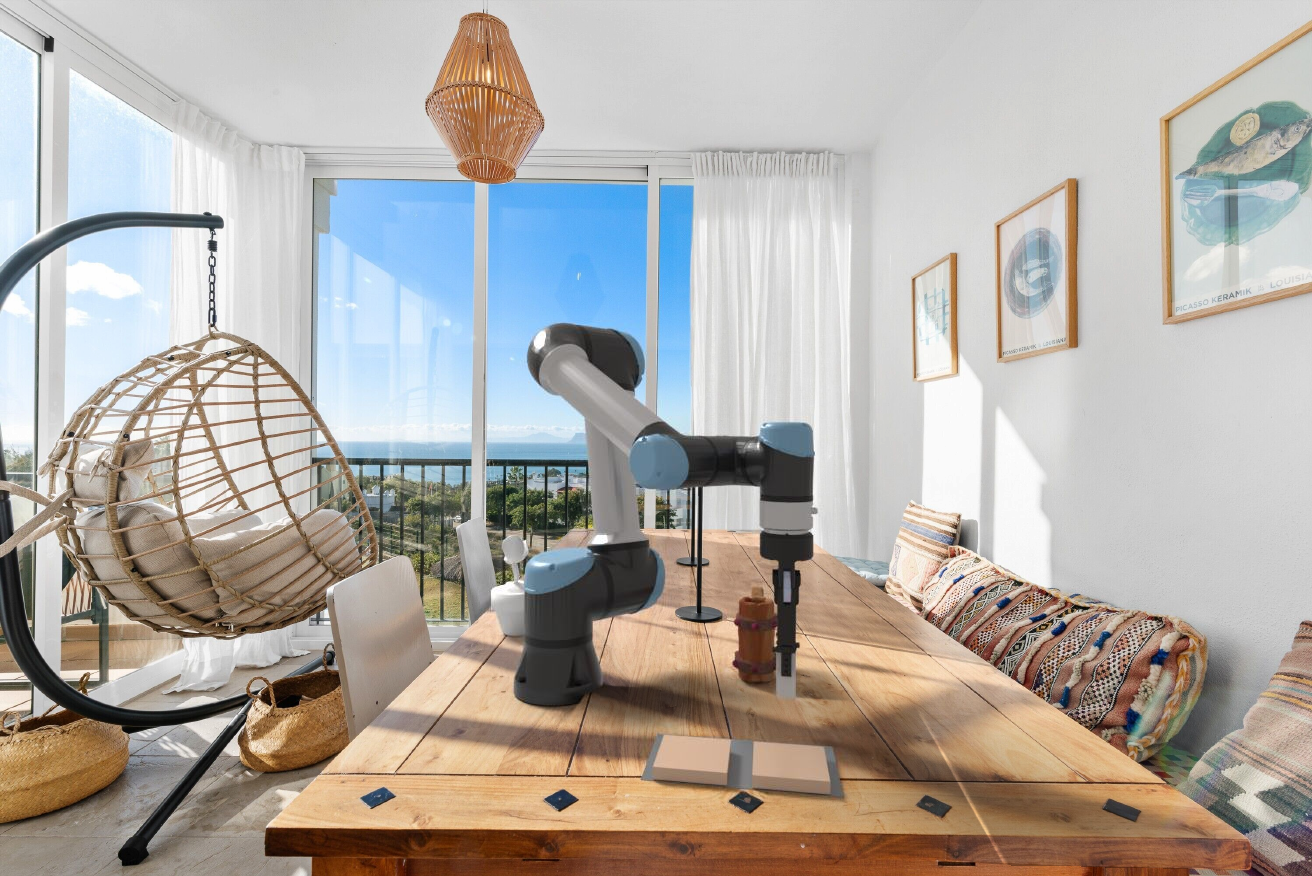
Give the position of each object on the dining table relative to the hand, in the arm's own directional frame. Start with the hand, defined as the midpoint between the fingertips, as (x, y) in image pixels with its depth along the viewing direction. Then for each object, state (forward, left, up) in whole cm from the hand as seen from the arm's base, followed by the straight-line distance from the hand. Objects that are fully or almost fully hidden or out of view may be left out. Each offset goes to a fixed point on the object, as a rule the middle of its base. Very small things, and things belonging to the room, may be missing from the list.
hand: (785, 696), depth 95 cm
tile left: (-12, -8, -4) cm, 15 cm away
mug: (-4, +27, -7) cm, 28 cm away
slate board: (-6, -10, -6) cm, 13 cm away
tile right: (0, -8, -4) cm, 9 cm away
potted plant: (-57, +45, -7) cm, 73 cm away
